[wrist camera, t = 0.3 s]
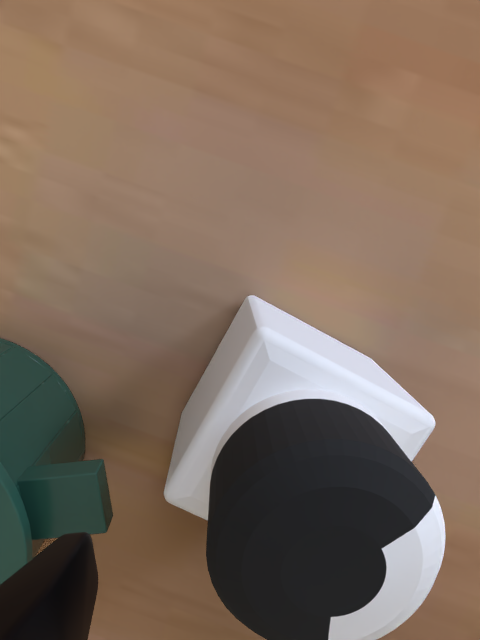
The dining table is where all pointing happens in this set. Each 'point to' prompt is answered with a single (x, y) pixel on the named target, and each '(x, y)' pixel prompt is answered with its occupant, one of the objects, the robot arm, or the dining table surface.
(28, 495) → the pot
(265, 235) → the dining table surface
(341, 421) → the medicine bottle
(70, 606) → the robot arm
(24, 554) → the pot lid
